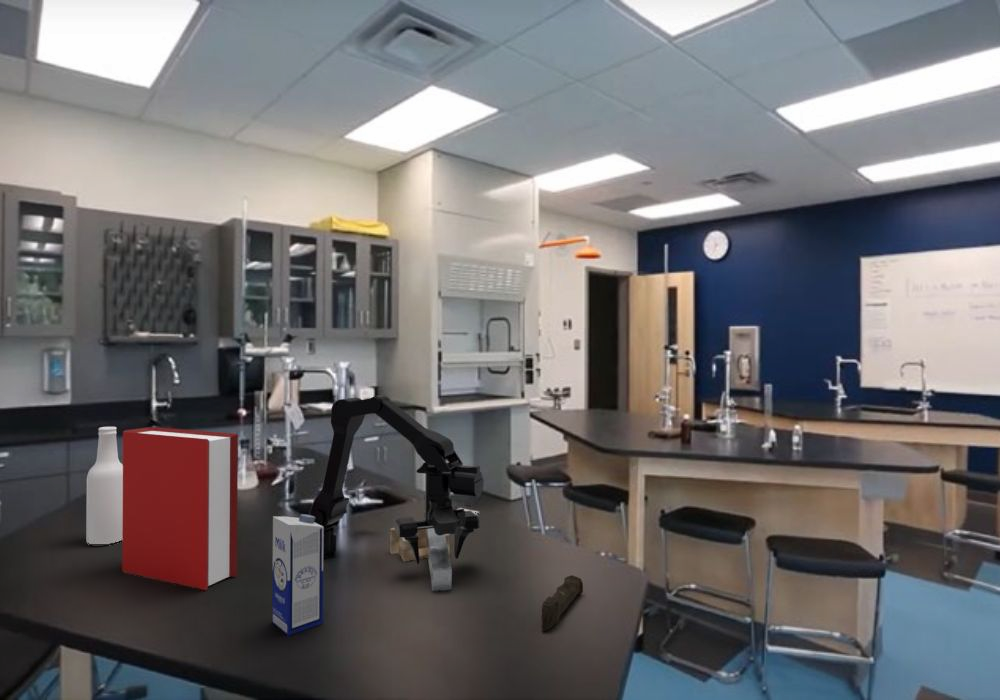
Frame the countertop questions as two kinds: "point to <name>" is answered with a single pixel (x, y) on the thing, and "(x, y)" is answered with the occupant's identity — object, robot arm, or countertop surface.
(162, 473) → the book
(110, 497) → the alcohol
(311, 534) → the milk carton
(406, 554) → the beige studded block
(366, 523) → the countertop surface
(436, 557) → the rail
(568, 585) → the dark brown lumpy bar
